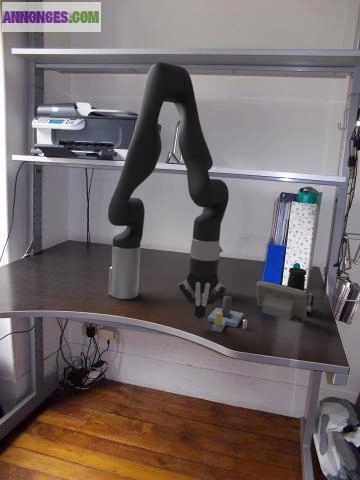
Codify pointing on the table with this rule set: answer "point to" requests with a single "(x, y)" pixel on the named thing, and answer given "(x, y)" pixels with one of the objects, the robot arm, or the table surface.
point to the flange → (224, 319)
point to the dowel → (244, 324)
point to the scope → (300, 285)
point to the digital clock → (281, 301)
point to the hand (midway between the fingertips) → (199, 317)
